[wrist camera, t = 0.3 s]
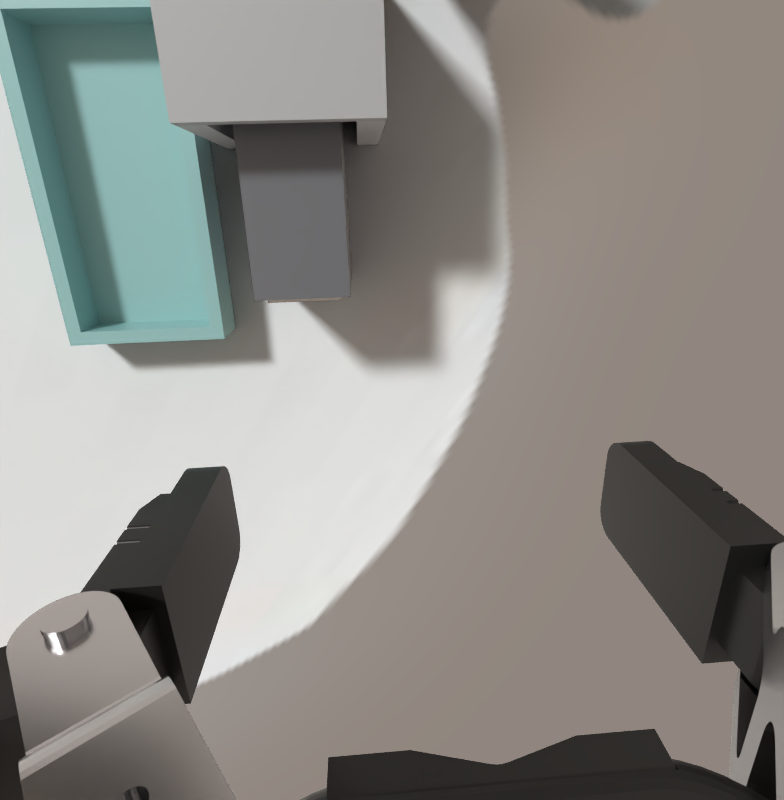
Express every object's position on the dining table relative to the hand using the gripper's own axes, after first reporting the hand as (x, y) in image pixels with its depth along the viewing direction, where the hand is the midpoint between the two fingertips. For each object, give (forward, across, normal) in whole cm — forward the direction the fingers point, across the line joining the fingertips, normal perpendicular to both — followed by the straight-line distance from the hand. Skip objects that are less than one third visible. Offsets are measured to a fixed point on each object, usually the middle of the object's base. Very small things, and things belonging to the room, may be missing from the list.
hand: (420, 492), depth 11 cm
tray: (+26, +14, -7) cm, 30 cm away
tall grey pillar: (+26, +4, -8) cm, 27 cm away
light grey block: (+26, +4, -13) cm, 29 cm away
